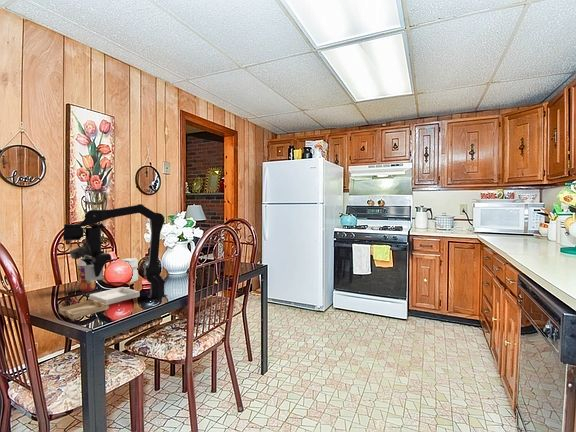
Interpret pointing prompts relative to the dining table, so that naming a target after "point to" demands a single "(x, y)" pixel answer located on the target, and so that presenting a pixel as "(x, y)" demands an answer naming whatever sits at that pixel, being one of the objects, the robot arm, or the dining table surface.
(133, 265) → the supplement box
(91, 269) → the stone block
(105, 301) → the bin
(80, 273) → the smoothie
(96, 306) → the oak tray
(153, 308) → the dining table surface
